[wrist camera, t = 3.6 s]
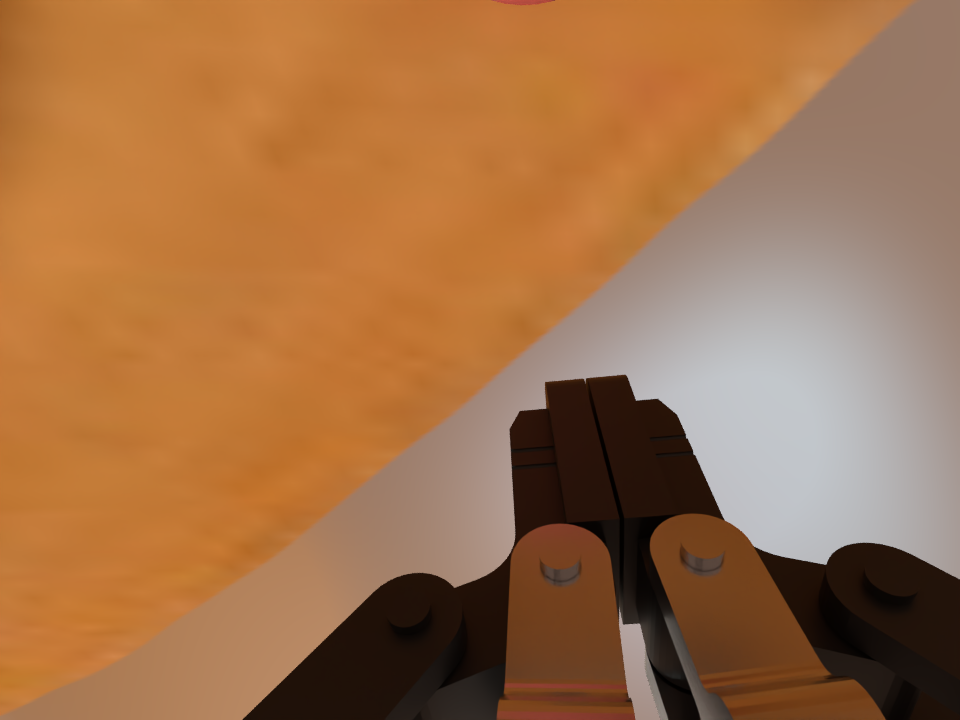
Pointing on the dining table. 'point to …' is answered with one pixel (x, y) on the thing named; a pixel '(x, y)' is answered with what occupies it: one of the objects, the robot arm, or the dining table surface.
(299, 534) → the dining table surface
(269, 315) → the dining table surface
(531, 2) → the ball
